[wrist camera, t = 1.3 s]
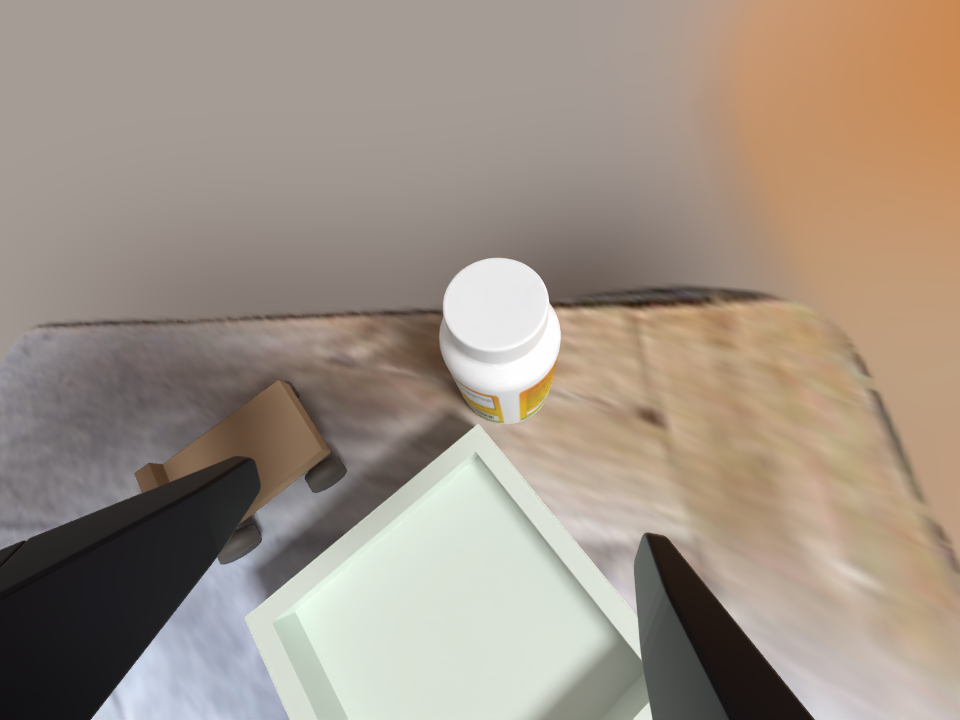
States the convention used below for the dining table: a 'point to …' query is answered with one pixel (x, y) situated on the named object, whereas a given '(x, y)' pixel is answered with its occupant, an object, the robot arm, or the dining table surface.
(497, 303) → the supplement bottle
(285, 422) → the cart
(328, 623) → the tray
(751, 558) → the dining table surface
